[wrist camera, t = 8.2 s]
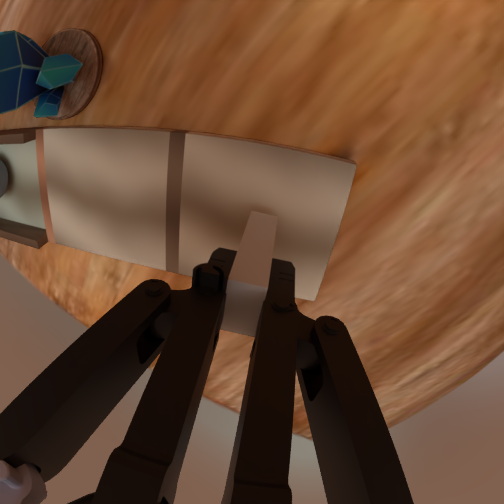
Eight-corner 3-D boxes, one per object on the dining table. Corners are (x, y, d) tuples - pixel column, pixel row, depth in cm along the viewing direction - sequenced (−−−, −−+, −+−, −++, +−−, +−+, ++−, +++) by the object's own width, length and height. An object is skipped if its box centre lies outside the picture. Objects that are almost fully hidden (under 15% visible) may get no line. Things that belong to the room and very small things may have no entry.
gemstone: (55, 16, 12) (-72, 18, 2) (126, 51, 14) (-31, 49, 4) (21, 96, 16) (-95, 134, 6) (81, 140, 18) (-53, 206, 7)
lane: (-14, 132, 18) (-43, 143, 14) (353, 161, 16) (369, 179, 13) (-2, 221, 23) (-26, 238, 19) (314, 292, 22) (316, 330, 18)
